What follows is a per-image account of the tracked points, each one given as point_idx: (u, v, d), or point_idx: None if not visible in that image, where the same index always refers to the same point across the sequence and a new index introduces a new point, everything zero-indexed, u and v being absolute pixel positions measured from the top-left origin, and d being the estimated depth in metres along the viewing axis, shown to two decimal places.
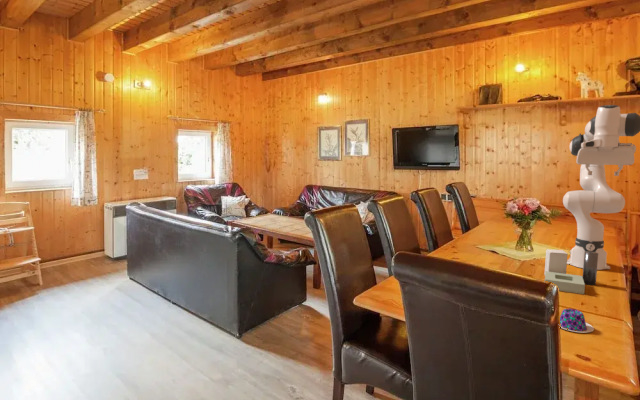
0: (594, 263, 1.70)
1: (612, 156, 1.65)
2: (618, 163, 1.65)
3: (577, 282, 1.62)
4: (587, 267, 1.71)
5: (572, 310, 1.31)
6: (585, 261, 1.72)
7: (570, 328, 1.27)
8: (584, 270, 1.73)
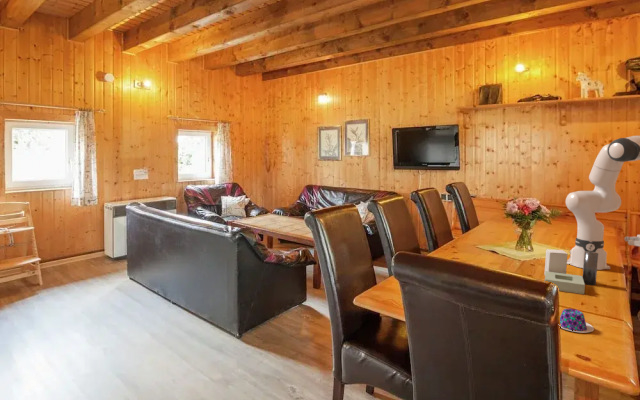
0: (594, 263, 1.70)
1: None
2: None
3: (577, 282, 1.62)
4: (587, 267, 1.71)
5: (572, 310, 1.31)
6: (585, 261, 1.72)
7: (570, 328, 1.27)
8: (584, 270, 1.73)
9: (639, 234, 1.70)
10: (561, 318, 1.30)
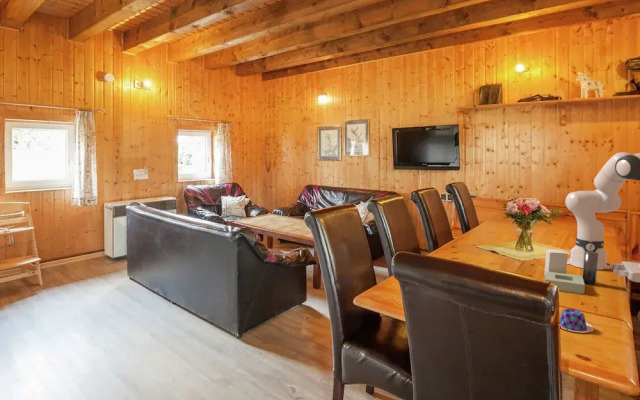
0: (594, 263, 1.70)
1: None
2: None
3: (577, 282, 1.62)
4: (587, 267, 1.71)
5: (572, 310, 1.31)
6: (585, 261, 1.72)
7: (571, 328, 1.26)
8: (584, 270, 1.73)
9: (624, 261, 1.74)
10: (561, 318, 1.30)
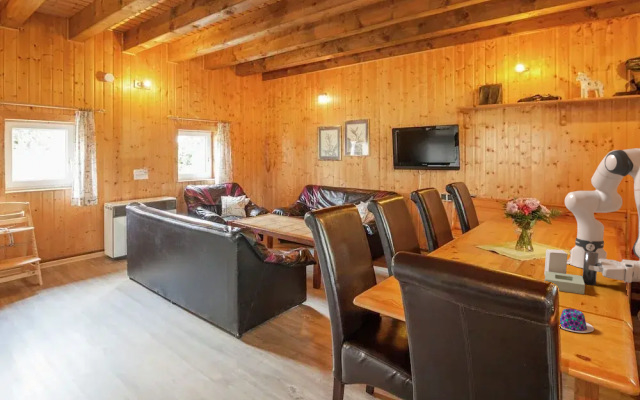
0: (594, 263, 1.70)
1: None
2: None
3: (577, 282, 1.62)
4: (587, 267, 1.71)
5: (571, 310, 1.31)
6: (585, 261, 1.72)
7: (572, 328, 1.26)
8: (584, 270, 1.73)
9: (600, 258, 1.78)
10: (562, 319, 1.30)
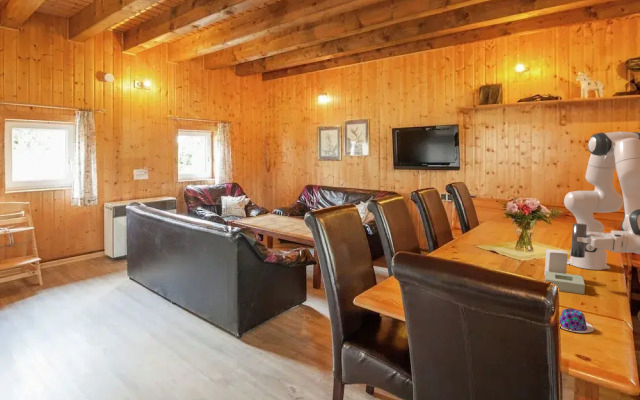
0: (583, 235, 1.65)
1: None
2: None
3: (577, 282, 1.62)
4: (576, 239, 1.67)
5: (571, 310, 1.31)
6: (573, 233, 1.68)
7: (574, 329, 1.26)
8: (573, 242, 1.68)
9: (589, 231, 1.73)
10: (562, 319, 1.29)
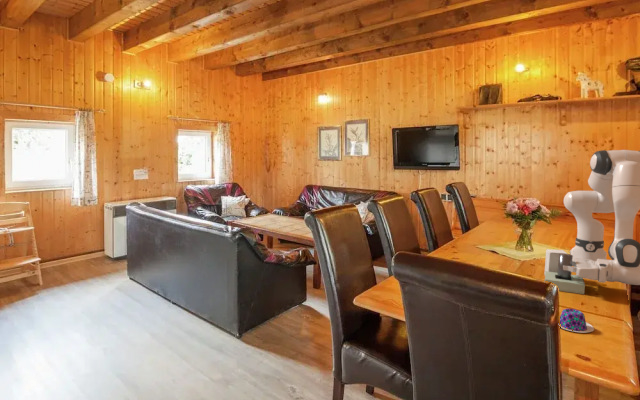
0: (568, 265, 1.66)
1: None
2: None
3: (577, 282, 1.62)
4: (562, 270, 1.67)
5: (570, 310, 1.31)
6: (559, 263, 1.68)
7: (575, 329, 1.26)
8: (558, 273, 1.68)
9: (576, 257, 1.73)
10: (563, 319, 1.29)
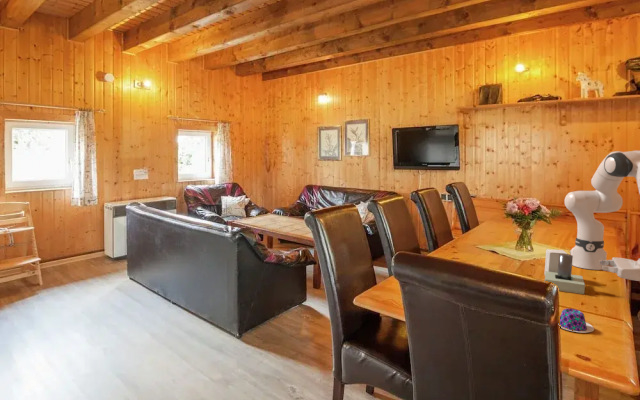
0: (568, 266, 1.65)
1: None
2: None
3: (577, 282, 1.62)
4: (562, 270, 1.67)
5: (569, 310, 1.31)
6: (559, 264, 1.68)
7: (576, 329, 1.26)
8: (558, 273, 1.68)
9: (614, 257, 1.67)
10: (564, 320, 1.29)
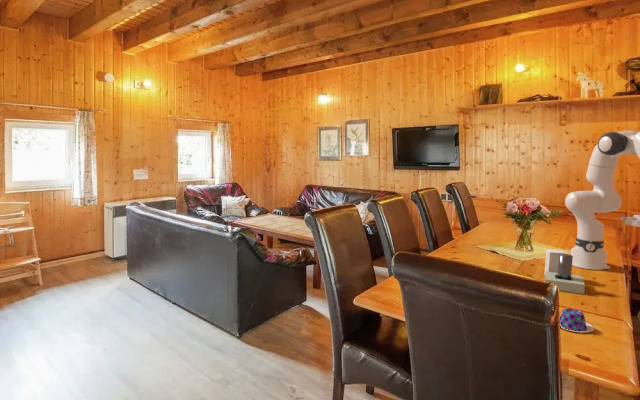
0: (568, 266, 1.65)
1: None
2: None
3: (577, 282, 1.62)
4: (562, 270, 1.67)
5: (569, 310, 1.31)
6: (559, 264, 1.68)
7: (577, 329, 1.26)
8: (558, 273, 1.68)
9: None
10: (564, 320, 1.29)
